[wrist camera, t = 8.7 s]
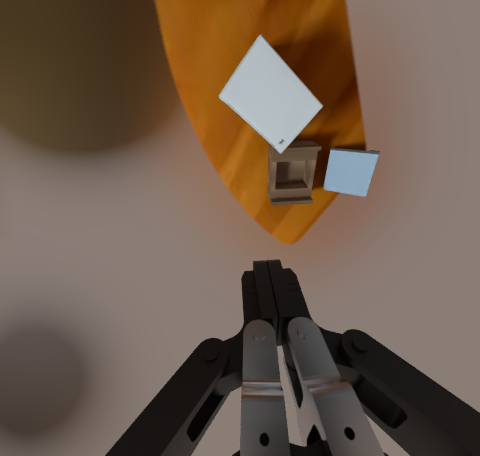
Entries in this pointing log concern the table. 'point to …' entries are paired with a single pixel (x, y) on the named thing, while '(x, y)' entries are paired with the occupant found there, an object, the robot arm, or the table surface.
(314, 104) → the small box
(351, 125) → the table surface
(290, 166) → the case
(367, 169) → the lid
